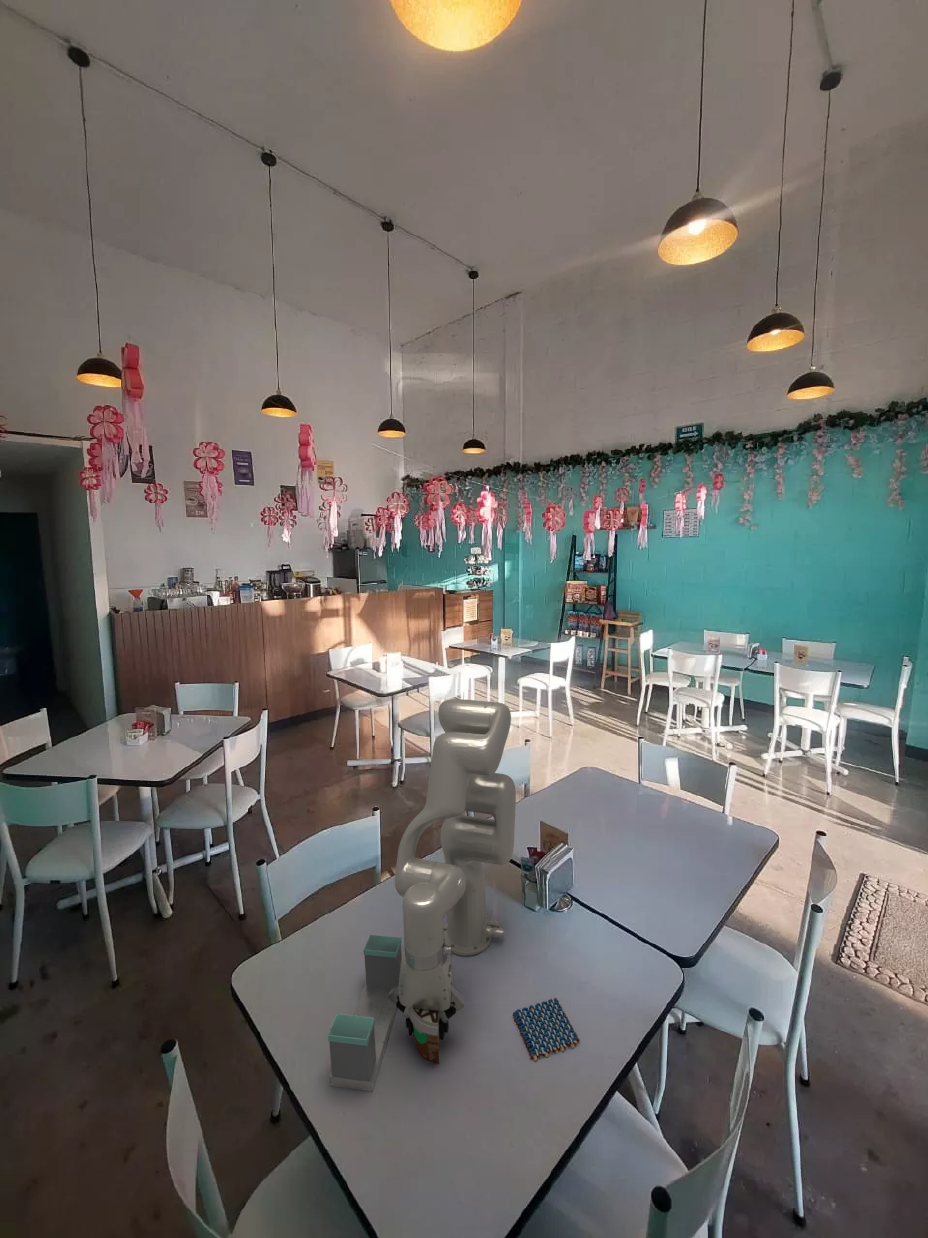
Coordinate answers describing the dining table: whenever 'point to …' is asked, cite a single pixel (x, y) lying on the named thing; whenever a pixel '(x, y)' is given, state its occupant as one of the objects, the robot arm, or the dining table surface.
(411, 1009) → the food container
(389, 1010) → the rail
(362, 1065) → the mounted module
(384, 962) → the block
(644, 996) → the dining table surface
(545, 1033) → the woven mat
